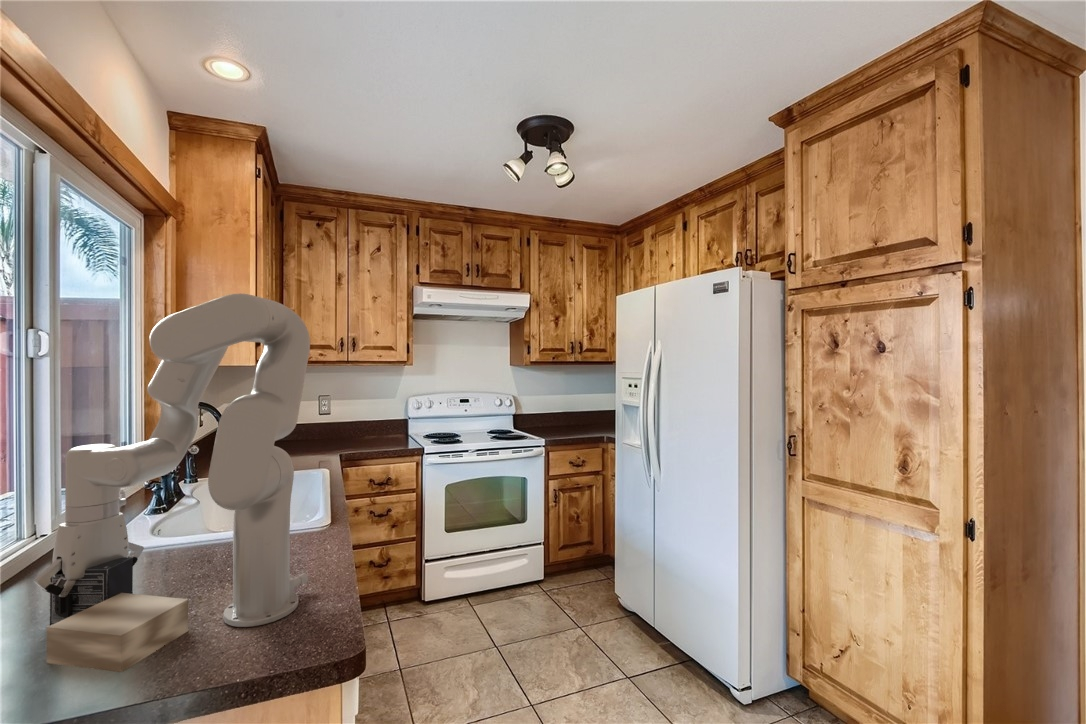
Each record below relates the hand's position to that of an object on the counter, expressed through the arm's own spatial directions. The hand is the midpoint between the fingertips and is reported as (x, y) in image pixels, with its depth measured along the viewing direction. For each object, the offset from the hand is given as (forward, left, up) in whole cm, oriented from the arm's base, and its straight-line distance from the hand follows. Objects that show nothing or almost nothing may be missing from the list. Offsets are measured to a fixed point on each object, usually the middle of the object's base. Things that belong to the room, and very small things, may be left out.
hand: (93, 604), depth 94 cm
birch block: (+4, +15, -3) cm, 16 cm away
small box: (0, 0, -3) cm, 3 cm away
